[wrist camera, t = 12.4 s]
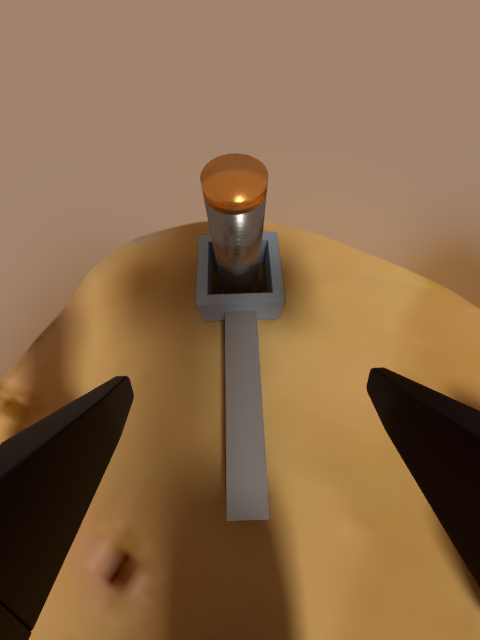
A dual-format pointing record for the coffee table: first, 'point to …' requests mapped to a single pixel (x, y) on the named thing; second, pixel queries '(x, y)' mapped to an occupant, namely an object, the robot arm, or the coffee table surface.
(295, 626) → the coffee table surface
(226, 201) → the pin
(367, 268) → the coffee table surface
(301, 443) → the coffee table surface
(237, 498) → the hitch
